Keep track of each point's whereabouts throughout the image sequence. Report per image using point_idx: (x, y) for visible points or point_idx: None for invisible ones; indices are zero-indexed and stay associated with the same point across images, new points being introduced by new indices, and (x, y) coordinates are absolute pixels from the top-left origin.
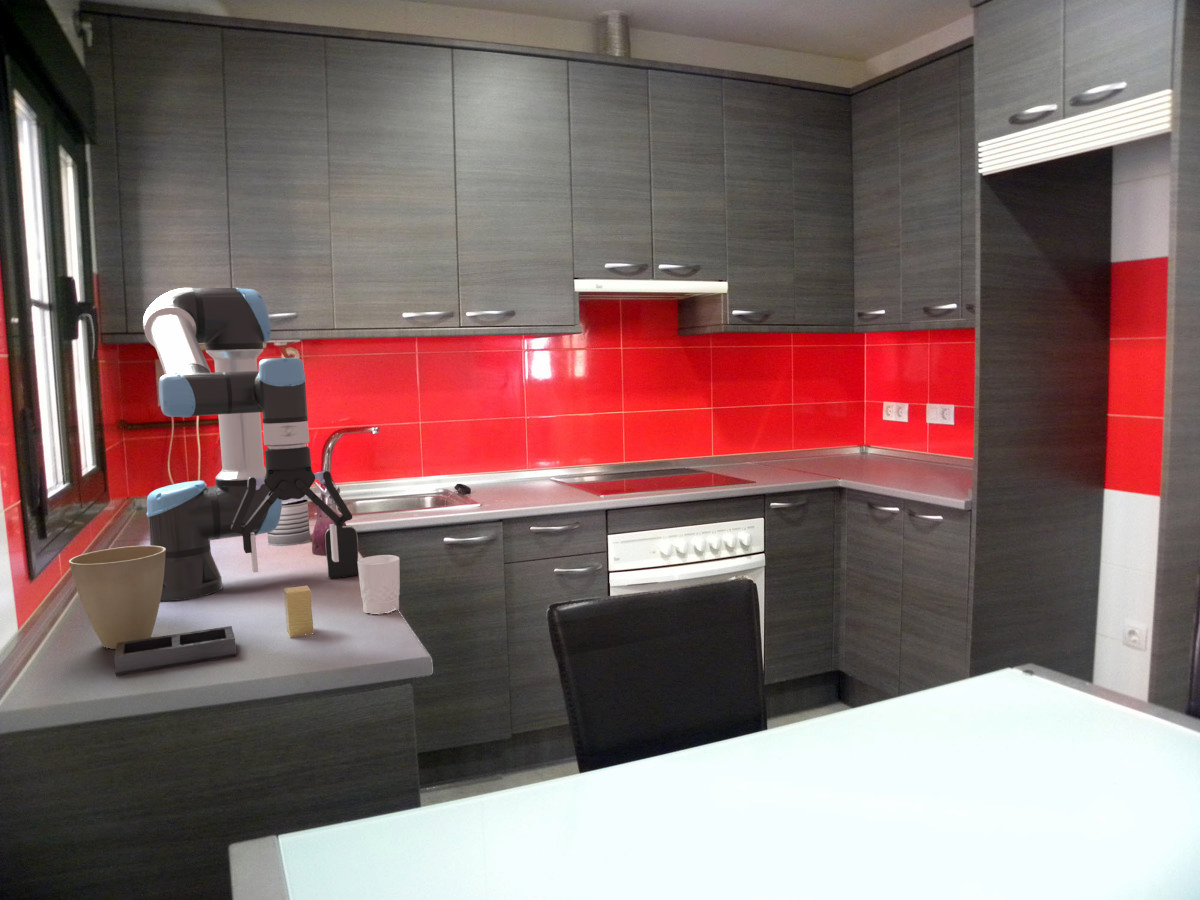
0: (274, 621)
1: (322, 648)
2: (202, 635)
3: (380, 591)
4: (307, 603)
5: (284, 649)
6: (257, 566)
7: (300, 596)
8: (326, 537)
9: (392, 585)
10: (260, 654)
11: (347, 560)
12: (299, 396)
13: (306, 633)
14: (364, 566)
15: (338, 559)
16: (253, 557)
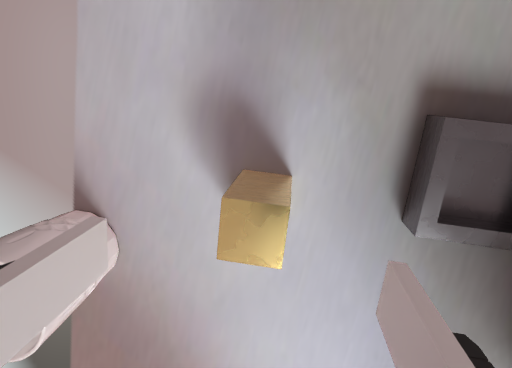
0: (287, 310)
1: (253, 48)
2: (484, 226)
3: (55, 228)
4: (239, 188)
5: (325, 97)
6: (395, 273)
7: (253, 197)
8: None
9: (18, 230)
10: (379, 95)
11: None
12: None
13: (257, 172)
14: None
15: (87, 219)
16: (425, 299)
